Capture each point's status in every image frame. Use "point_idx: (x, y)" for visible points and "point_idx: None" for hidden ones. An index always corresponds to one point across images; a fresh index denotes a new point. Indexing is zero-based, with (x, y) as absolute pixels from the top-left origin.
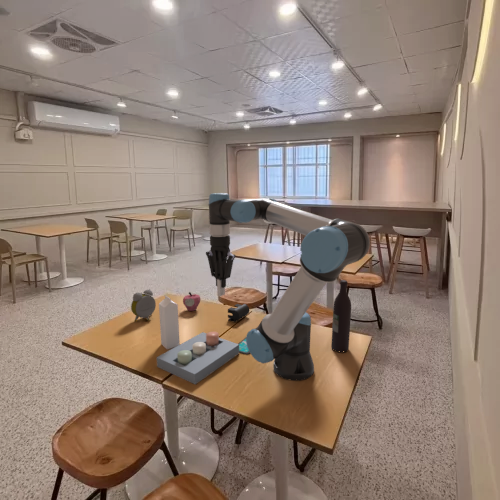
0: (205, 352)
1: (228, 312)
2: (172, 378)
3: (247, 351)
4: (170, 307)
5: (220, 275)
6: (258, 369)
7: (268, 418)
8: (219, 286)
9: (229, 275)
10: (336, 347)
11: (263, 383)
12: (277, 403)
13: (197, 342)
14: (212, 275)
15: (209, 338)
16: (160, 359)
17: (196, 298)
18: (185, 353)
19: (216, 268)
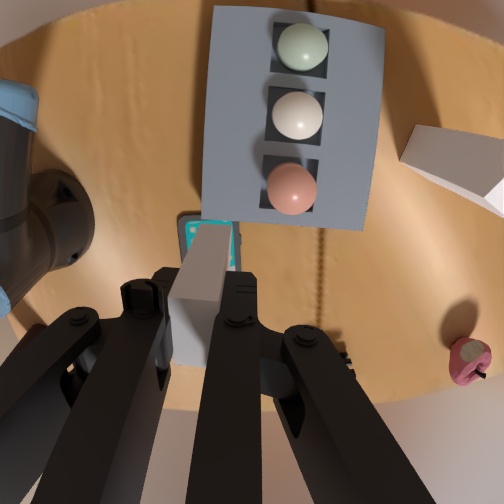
0: (272, 121)
1: (351, 369)
2: (294, 7)
3: (186, 227)
4: (493, 164)
5: (149, 340)
6: (112, 167)
7: (25, 44)
8: (193, 258)
9: (70, 373)
10: (36, 330)
11: (73, 123)
12: None
13: (316, 128)
14: (303, 330)
15: (288, 166)
16: (367, 24)
17: (460, 370)
18: (300, 46)
19: (215, 429)
